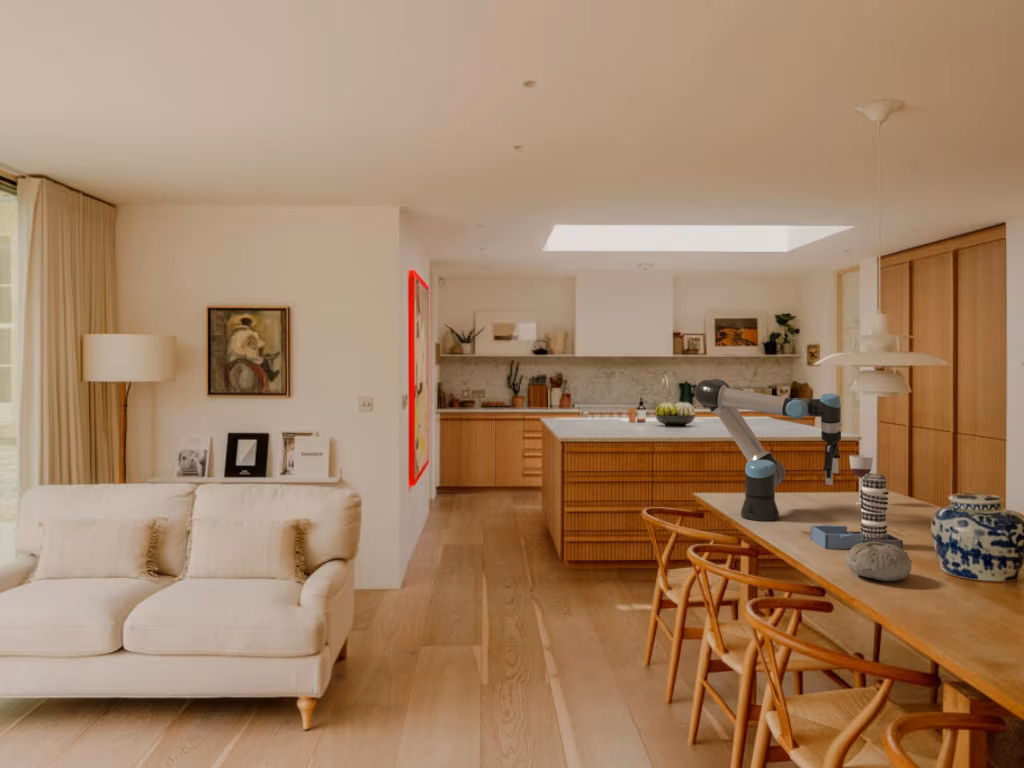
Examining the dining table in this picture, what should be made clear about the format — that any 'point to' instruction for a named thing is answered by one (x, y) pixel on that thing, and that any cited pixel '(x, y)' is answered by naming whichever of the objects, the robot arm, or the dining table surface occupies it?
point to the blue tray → (834, 537)
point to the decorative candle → (874, 507)
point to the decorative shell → (879, 561)
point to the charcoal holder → (889, 540)
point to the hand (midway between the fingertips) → (832, 478)
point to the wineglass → (860, 467)
